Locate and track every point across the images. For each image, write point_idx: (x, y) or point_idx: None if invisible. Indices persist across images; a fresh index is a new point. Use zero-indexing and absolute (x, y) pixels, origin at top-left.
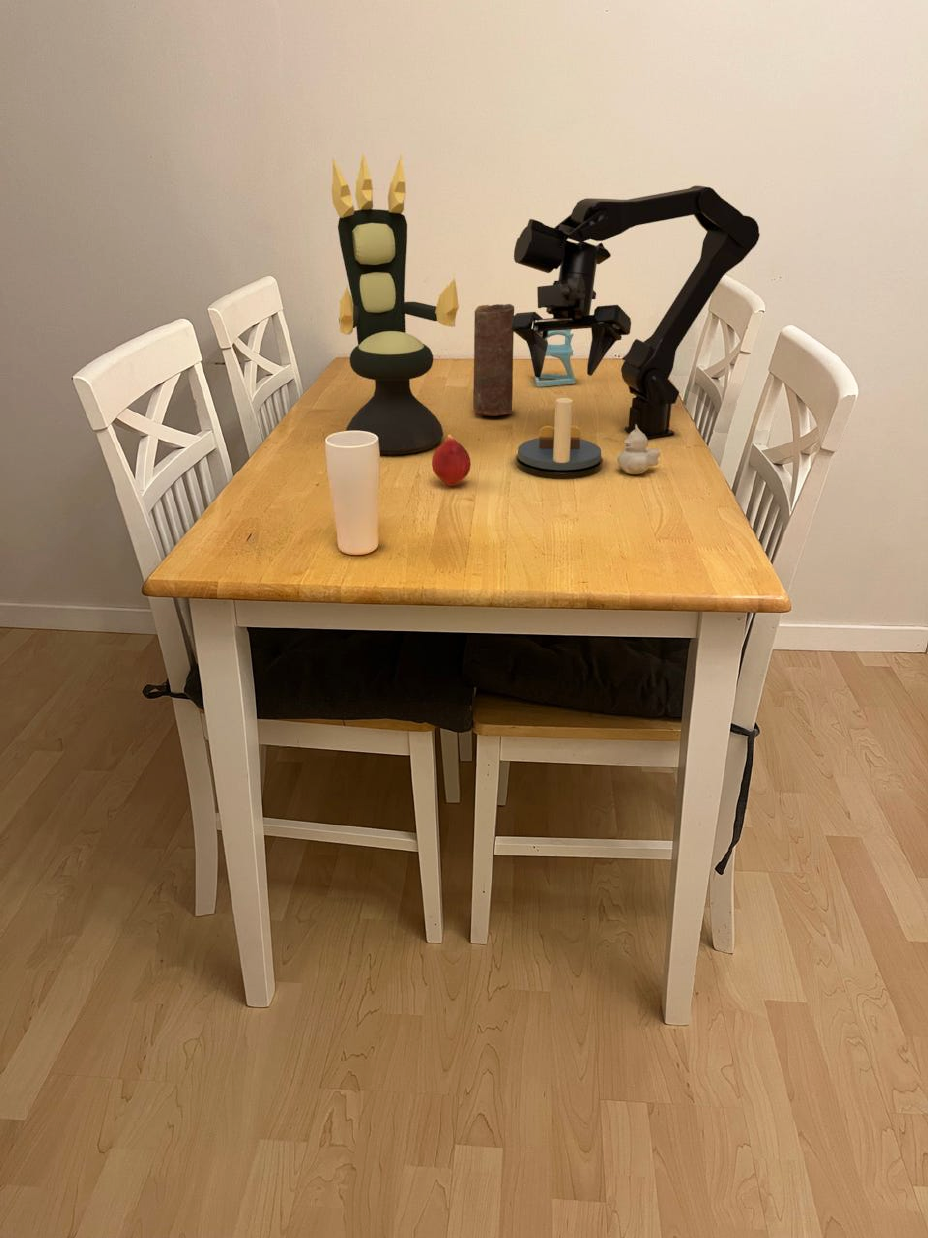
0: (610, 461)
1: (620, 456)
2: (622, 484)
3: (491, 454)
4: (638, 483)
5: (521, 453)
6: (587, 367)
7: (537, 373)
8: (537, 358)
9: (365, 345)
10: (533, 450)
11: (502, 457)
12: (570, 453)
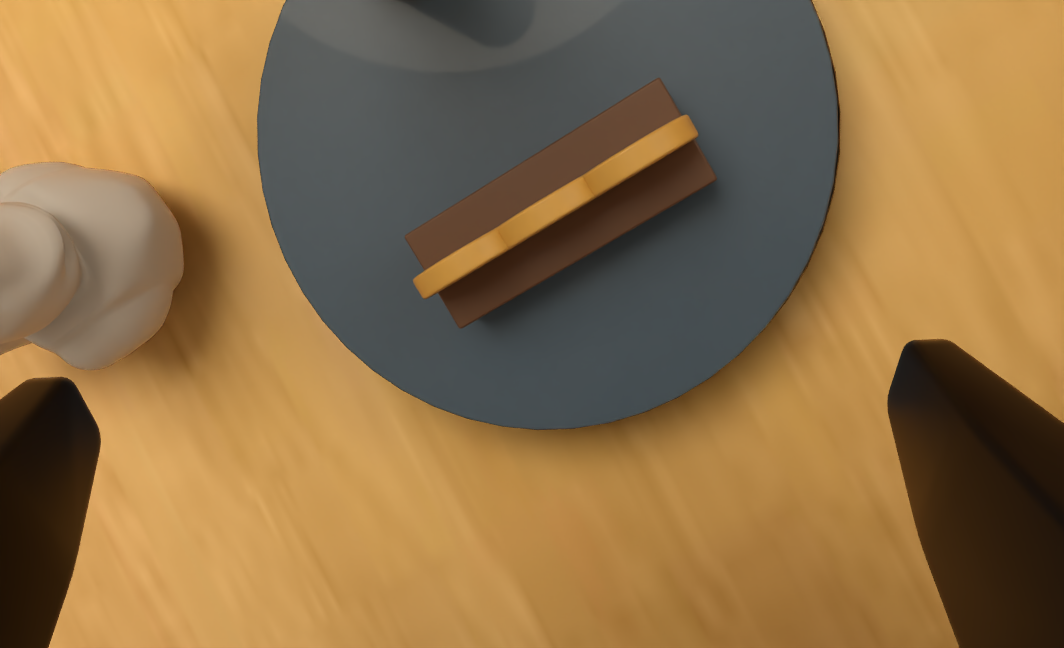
0: (322, 363)
1: (118, 193)
2: (90, 41)
3: (1059, 71)
4: (35, 107)
5: None
6: (23, 424)
7: (915, 366)
8: (1056, 548)
9: None
10: (680, 16)
11: (951, 59)
12: (427, 108)
